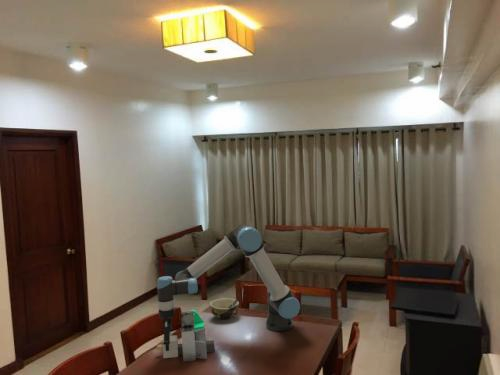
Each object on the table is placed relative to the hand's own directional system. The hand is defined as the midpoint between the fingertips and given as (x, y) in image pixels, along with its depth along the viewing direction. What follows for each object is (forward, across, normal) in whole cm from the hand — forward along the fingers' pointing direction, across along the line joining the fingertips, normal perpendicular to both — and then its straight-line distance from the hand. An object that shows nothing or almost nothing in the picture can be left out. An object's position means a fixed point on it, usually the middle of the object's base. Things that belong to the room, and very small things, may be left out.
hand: (168, 350), depth 209 cm
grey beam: (+2, 0, +9) cm, 9 cm away
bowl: (+2, -43, +31) cm, 53 cm away
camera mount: (+2, -30, +12) cm, 32 cm away
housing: (+2, 0, +13) cm, 13 cm away
